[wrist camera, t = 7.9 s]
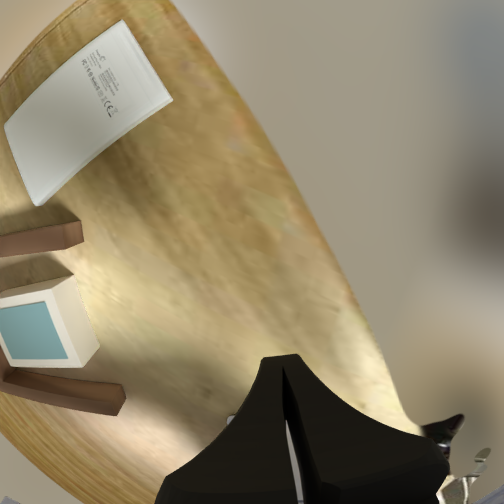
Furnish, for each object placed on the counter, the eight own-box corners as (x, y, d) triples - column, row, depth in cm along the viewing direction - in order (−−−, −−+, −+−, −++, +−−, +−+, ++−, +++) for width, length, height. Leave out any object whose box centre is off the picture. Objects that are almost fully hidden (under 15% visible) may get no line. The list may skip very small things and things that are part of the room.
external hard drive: (14, 126, 17) (128, 26, 16) (46, 205, 19) (176, 102, 18) (2, 124, 16) (120, 16, 14) (34, 207, 17) (170, 96, 16)
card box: (101, 344, 21) (82, 368, 18) (30, 348, 21) (10, 366, 18) (76, 273, 20) (50, 289, 16) (7, 288, 20) (-18, 302, 17)
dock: (126, 398, 22) (116, 416, 19) (12, 379, 22) (0, 391, 20) (80, 220, 19) (61, 225, 16) (-31, 241, 19) (-48, 247, 16)
